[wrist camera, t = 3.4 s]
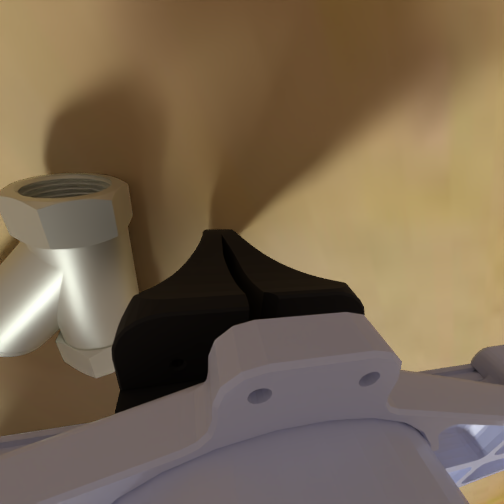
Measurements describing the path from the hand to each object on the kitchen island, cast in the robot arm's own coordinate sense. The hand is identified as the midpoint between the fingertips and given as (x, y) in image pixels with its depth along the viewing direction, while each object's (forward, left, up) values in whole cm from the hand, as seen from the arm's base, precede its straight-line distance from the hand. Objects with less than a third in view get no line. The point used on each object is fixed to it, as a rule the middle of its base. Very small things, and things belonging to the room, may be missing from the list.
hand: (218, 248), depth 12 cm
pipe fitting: (-1, +7, -2) cm, 7 cm away
